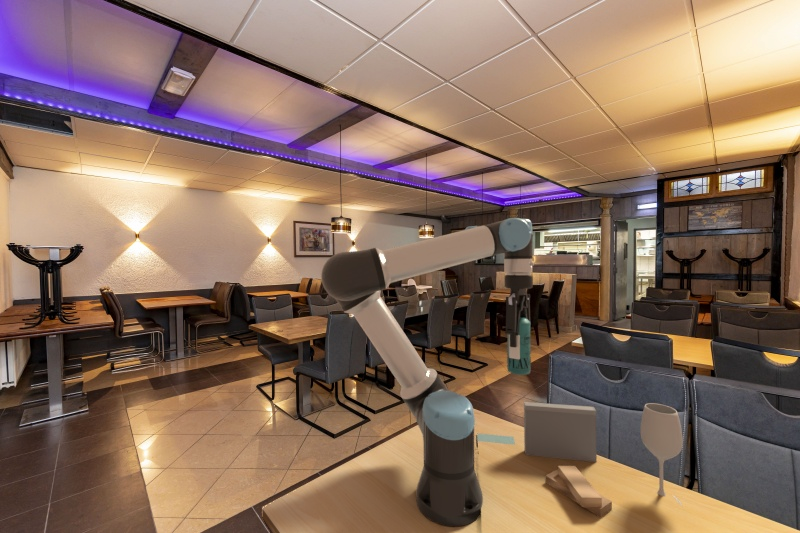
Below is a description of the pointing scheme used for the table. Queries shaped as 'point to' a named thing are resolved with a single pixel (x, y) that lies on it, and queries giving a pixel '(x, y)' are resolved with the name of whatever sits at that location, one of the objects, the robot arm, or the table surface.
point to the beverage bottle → (521, 349)
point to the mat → (495, 439)
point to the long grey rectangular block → (560, 431)
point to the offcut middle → (559, 485)
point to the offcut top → (579, 486)
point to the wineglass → (661, 435)
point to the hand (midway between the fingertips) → (518, 355)
